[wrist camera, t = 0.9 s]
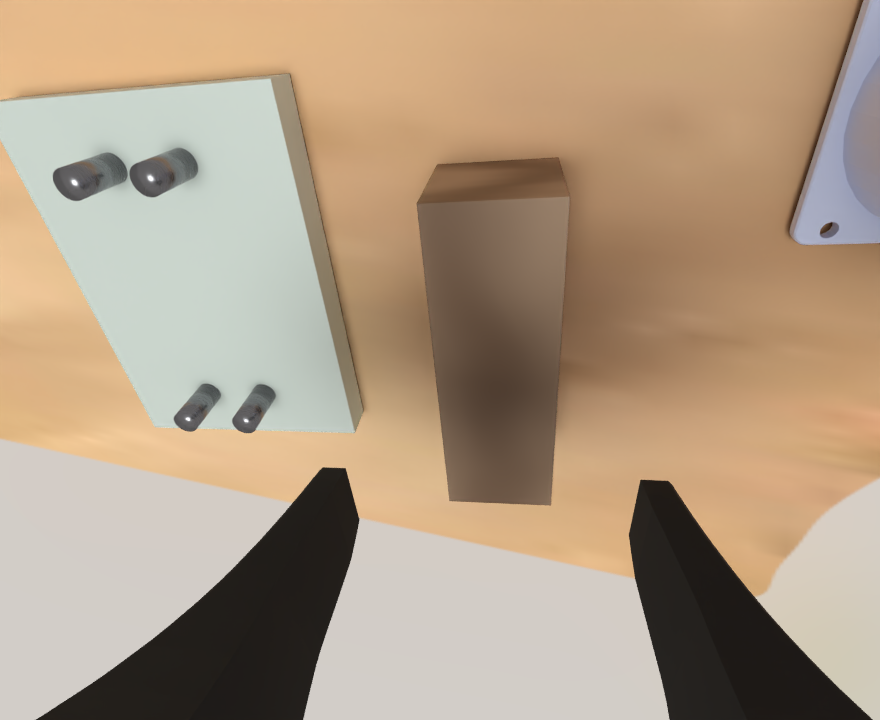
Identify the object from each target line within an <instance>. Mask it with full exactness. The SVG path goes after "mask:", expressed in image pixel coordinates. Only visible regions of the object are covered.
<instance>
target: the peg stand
mask: <svg viewBox="0 0 880 720" xmlns="http://www.w3.org/2000/svg"><path fill="white" fill-rule="evenodd" d="M0 140H1V142H2V144H3V146H4V148H5V150H6V151H7V153H8V155H9V157H10V159H11V161H12V163H13V164H14V166H15V168H16V170H17V172H18V174H19V176H20V177H21V179H22V181H23V183H24V185H25V187H26V189H27V190H28V192H29V194H30V196H31V198H32V200H33V202H34V203H35V205H36V207H37V209H38V211H39V213H40V215H41V216H42V218H43V220H44V222H45V224H46V226H47V228H48V229H49V231H50V233H51V235H52V237H53V239H54V241H55V242H56V244H57V246H58V248H59V250H60V252H61V254H62V255H63V257H64V259H65V261H66V263H67V265H68V267H69V268H70V270H71V272H72V274H73V276H74V278H75V280H76V281H77V283H78V285H79V287H80V289H81V291H82V293H83V294H84V296H85V298H86V300H87V302H88V304H89V306H90V307H91V309H92V311H93V313H94V315H95V317H96V319H97V320H98V322H99V324H100V326H101V328H102V330H103V332H104V333H105V335H106V337H107V339H108V341H109V343H110V345H111V346H112V348H113V350H114V352H115V354H116V356H117V358H118V359H119V361H120V363H121V365H122V367H123V369H124V371H125V372H126V374H127V376H128V378H129V380H130V382H131V384H132V385H133V387H134V389H135V391H136V393H137V395H138V397H139V398H140V400H141V402H142V404H143V406H144V408H145V410H146V411H147V413H148V415H149V417H150V419H151V421H152V423H153V424H154V426H155V427H164V428H181V429H183V430H185V431H195V430H196V429H197V428H199V429H233V430H239V431H241V432H244V433H252V432H254V431H255V430H268V431H303V432H338V433H355V432H356V429H357V426H358V424H359V421H360V419H361V416H362V414H363V407H362V403H361V398H360V394H359V389H358V385H357V380H356V375H355V371H354V366H353V362H352V357H351V353H350V348H349V343H348V339H347V334H346V330H345V325H344V321H343V316H342V311H341V307H340V302H339V298H338V293H337V289H336V284H335V279H334V275H333V270H332V266H331V261H330V257H329V252H328V247H327V243H326V238H325V234H324V229H323V225H322V220H321V215H320V211H319V206H318V202H317V197H316V193H315V188H314V183H313V179H312V174H311V170H310V165H309V161H308V156H307V151H306V147H305V142H304V138H303V133H302V129H301V124H300V119H299V115H298V110H297V106H296V101H295V96H294V92H293V87H292V83H291V78H290V74H280V75H268V76H257V77H245V78H234V79H222V80H211V81H199V82H187V83H176V84H164V85H153V86H141V87H130V88H118V89H107V90H95V91H83V92H72V93H60V94H49V95H37V96H26V97H16V98H10V99H4V100H0Z"/></svg>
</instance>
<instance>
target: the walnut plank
mask: <svg viewBox="0 0 880 720" xmlns="http://www.w3.org/2000/svg"><path fill="white" fill-rule="evenodd" d="M569 204H570V195H569V192H568V188H567V185H566V182H565V178H564V175H563V172H562V168H561V165H560V162H559V158H542V159H525V160H507V161H490V162H473V163H456V164H438V165H437V166H436V168H435V170H434V172H433V174H432V176H431V178H430V180H429V181H428V183H427V185H426V187H425V189H424V191H423V193H422V195H421V197H420V199H419V201H418V202H417V211H418V220H419V229H420V238H421V247H422V256H423V265H424V274H425V283H426V292H427V301H428V310H429V319H430V328H431V337H432V346H433V356H434V365H435V374H436V383H437V392H438V401H439V410H440V419H441V428H442V437H443V446H444V455H445V464H446V473H447V482H448V491H449V501H461V502H484V503H506V504H529V505H551V494H552V478H553V462H554V445H555V429H556V413H557V397H558V381H559V365H560V349H561V333H562V317H563V301H564V285H565V269H566V253H567V236H568V220H569Z"/></svg>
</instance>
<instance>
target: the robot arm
mask: <svg viewBox="0 0 880 720" xmlns="http://www.w3.org/2000/svg"><path fill="white" fill-rule="evenodd" d="M830 222H833V223H832V227H831V228H830V230H828V231H827V232H825V233H822V234H820V230H821V228H822V227H823V226H824V225H825V224H827V223H830ZM790 235H791V238H792V239H794V240H795V241H796V242H798V243H799V244H802V245H829V244H866V243H880V0H863V3H862V6H861V10H860V13H859V16H858V19H857V22H856V25H855V28H854V31H853V34H852V37H851V41H850V44H849V47H848V50H847V53H846V56H845V59H844V62H843V65H842V68H841V71H840V75H839V78H838V81H837V84H836V87H835V90H834V93H833V96H832V99H831V102H830V106H829V109H828V112H827V115H826V118H825V121H824V124H823V127H822V130H821V133H820V136H819V140H818V143H817V146H816V149H815V152H814V155H813V158H812V161H811V164H810V167H809V171H808V174H807V177H806V180H805V183H804V186H803V189H802V192H801V195H800V198H799V201H798V205H797V208H796V211H795V214H794V217H793V220H792V223H791V226H790ZM358 524H359V517H358V513H357V509H356V506H355V502H354V498H353V494H352V491H351V487H350V483H349V479H348V476H347V472H346V468H322V469H321V470H320V471H319V472H318V473H317V474H316V476H315V477H314V478H313V479H312V480H311V482H310V483H309V484H308V485H307V487H306V488H305V489H304V490H303V491H302V493H301V494H300V495H299V496H298V497H297V499H296V500H295V501H294V502H293V503H292V505H291V506H290V507H289V508H288V509H287V510H286V512H285V513H284V514H283V515H282V516H281V517H280V518H279V520H278V521H277V522H276V523H275V524H274V525H273V526H272V528H271V529H270V530H269V531H268V532H267V533H266V534H265V535H264V537H263V538H262V539H261V540H260V541H259V542H258V543H257V544H256V545H255V546H254V547H253V548H252V549H251V550H250V551H249V553H247V555H246V556H245V557H244V558H243V559H242V560H241V561H240V562H239V563H238V564H237V565H236V566H235V567H234V568H233V569H232V570H231V571H230V572H229V573H228V574H227V575H226V576H225V577H224V578H223V579H222V580H221V581H220V582H219V583H217V584H216V585H215V586H214V587H213V588H212V589H211V590H210V591H209V592H208V593H207V594H206V595H204V596H203V597H202V598H201V599H200V600H199V601H198V602H197V603H196V604H194V605H193V606H192V607H191V608H190V609H188V610H187V611H186V612H185V613H184V614H183V615H181V616H180V617H179V618H178V619H177V620H175V621H174V622H173V623H172V624H171V625H170V626H168V627H167V628H166V629H165V630H163V631H162V632H161V633H160V634H159V635H157V636H156V637H155V638H153V639H152V640H151V641H150V642H148V643H147V644H145V645H144V646H143V647H141V648H140V649H139V650H138V651H136V652H135V653H134V654H132V655H131V656H130V657H128V658H127V659H125V660H124V661H123V662H121V663H120V664H119V665H117V666H116V667H115V668H113V669H112V670H110V671H109V672H108V673H106V674H105V675H103V676H102V677H101V678H99V679H98V680H96V681H95V682H93V683H92V684H90V685H89V686H87V687H86V688H84V689H83V690H81V691H80V692H78V693H77V694H75V695H73V696H72V697H71V698H69V699H67V700H66V701H64V702H63V703H61V704H60V705H58V706H57V707H55V708H54V709H52V710H51V711H49V712H48V713H46V714H44V715H43V716H41V717H39V718H38V719H36V720H303V717H304V713H305V709H306V705H307V700H308V696H309V692H310V688H311V684H312V680H313V676H314V672H315V667H316V664H317V660H318V657H319V653H320V650H321V647H322V644H323V641H324V638H325V635H326V632H327V629H328V626H329V623H330V620H331V617H332V614H333V611H334V609H335V606H336V603H337V600H338V597H339V594H340V591H341V588H342V585H343V582H344V579H345V576H346V573H347V570H348V567H349V564H350V561H351V557H352V553H353V548H354V544H355V539H356V534H357V529H358ZM629 539H630V546H631V554H632V561H633V567H634V574H635V579H636V583H637V587H638V591H639V595H640V599H641V603H642V606H643V610H644V614H645V618H646V622H647V625H648V630H649V633H650V637H651V641H652V645H653V649H654V652H655V656H656V660H657V664H658V667H659V671H660V674H661V679H662V683H663V688H664V692H665V697H666V701H667V707H668V713H669V719H670V720H872V719H871V718H870V717H869V716H868V715H867V714H866V713H865V712H864V711H863V710H862V709H861V708H860V707H858V706H857V705H856V704H855V703H854V702H853V701H852V700H851V699H850V698H849V697H848V696H847V695H846V694H845V693H844V692H842V691H841V690H840V689H839V688H838V687H837V686H836V685H835V684H834V683H833V682H832V681H831V680H830V679H829V678H828V677H827V676H826V675H825V674H824V673H823V672H822V671H821V670H820V669H819V667H817V666H816V664H815V663H814V662H813V661H812V660H811V659H810V658H809V657H808V656H807V655H806V654H805V653H804V652H803V651H802V650H801V649H800V648H799V647H798V646H797V645H796V643H795V642H794V641H793V640H792V639H791V638H790V637H789V636H788V635H787V634H786V633H785V632H784V631H783V629H782V628H781V627H780V626H779V625H778V624H777V623H776V622H775V621H774V619H773V618H772V617H771V616H770V615H769V614H768V613H767V612H766V610H765V609H764V608H763V607H762V606H761V604H760V603H759V602H758V601H757V599H756V598H755V597H754V596H753V595H752V593H751V592H750V591H749V590H748V589H747V588H746V586H745V585H744V584H743V583H742V581H741V580H740V579H739V578H738V576H737V575H736V574H735V573H734V571H733V570H732V569H731V567H730V566H729V565H728V563H727V562H726V561H725V559H724V558H723V557H722V556H721V554H720V553H719V552H718V550H717V549H716V548H715V546H714V545H713V544H712V542H711V541H710V540H709V538H708V537H707V535H706V534H705V533H704V531H703V530H702V528H701V527H700V526H699V524H698V523H697V521H696V520H695V519H694V517H693V516H692V514H691V513H690V511H689V510H688V508H687V507H686V505H685V504H684V502H683V501H682V499H681V498H680V496H679V495H678V493H677V492H676V490H675V488H674V487H673V485H672V484H671V483H670V482H669V481H655V480H640V485H639V490H638V494H637V499H636V504H635V509H634V513H633V518H632V523H631V528H630V532H629Z"/></svg>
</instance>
